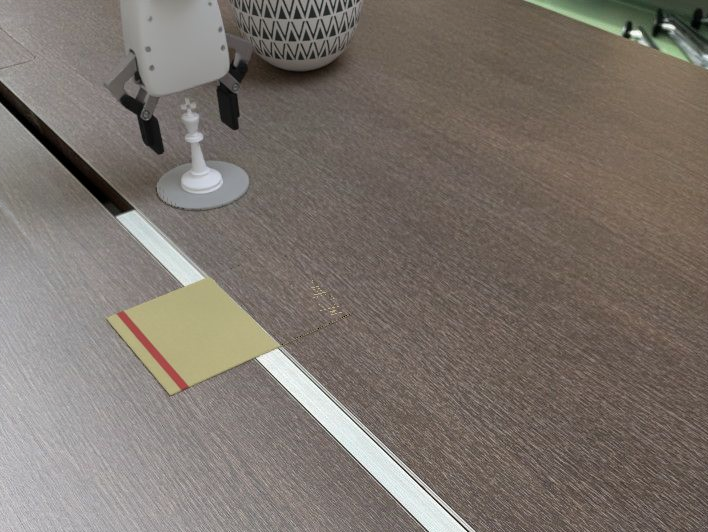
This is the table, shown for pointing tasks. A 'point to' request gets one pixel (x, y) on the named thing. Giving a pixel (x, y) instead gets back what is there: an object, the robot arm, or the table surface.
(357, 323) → the table surface
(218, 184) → the chess piece
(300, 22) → the planter
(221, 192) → the coaster
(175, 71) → the robot arm
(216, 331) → the paper
